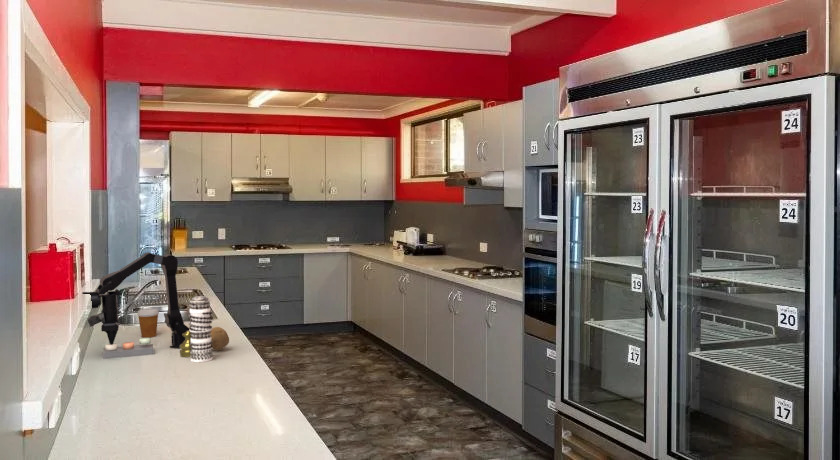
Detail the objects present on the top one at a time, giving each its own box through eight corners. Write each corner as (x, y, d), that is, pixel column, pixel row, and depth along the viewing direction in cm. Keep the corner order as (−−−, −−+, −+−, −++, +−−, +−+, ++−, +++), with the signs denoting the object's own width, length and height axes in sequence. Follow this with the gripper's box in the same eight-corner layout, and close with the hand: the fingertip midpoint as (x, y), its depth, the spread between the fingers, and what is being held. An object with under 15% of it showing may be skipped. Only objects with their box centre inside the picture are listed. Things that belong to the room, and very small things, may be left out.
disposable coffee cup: (145, 339, 344) (144, 312, 343) (133, 336, 350) (132, 310, 349) (164, 335, 351) (163, 309, 351) (152, 333, 357) (151, 307, 356)
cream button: (117, 347, 314) (117, 343, 314) (117, 349, 310) (116, 345, 310) (105, 348, 313) (105, 343, 313) (105, 350, 309) (105, 346, 309)
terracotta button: (134, 346, 317) (134, 341, 316) (134, 348, 313) (134, 343, 312) (122, 347, 315) (122, 342, 315) (122, 349, 311) (122, 344, 311)
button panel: (153, 349, 321) (152, 344, 321) (153, 354, 313) (153, 348, 313) (104, 354, 315) (103, 348, 315) (103, 358, 306) (103, 352, 306)
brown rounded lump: (201, 351, 316) (200, 328, 316) (216, 347, 324) (215, 324, 324) (218, 353, 312) (217, 329, 311) (233, 349, 320) (232, 325, 319)
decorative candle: (212, 355, 308) (210, 294, 307) (215, 360, 300) (212, 297, 298) (188, 358, 305) (186, 296, 303) (190, 363, 296) (188, 299, 295)
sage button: (150, 341, 319) (150, 337, 319) (150, 344, 315) (150, 339, 315) (139, 342, 317) (139, 338, 317) (139, 344, 313) (139, 340, 313)
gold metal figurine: (193, 357, 306) (192, 333, 305) (176, 357, 308) (175, 332, 307) (202, 353, 313) (201, 329, 313) (185, 353, 315) (184, 329, 314)
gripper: (89, 304, 316) (91, 342, 317) (86, 311, 299) (88, 351, 300) (118, 302, 320) (120, 339, 321) (117, 309, 303) (119, 348, 304)
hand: (111, 344), depth 311 cm, fingers closed, pressing on cream button
